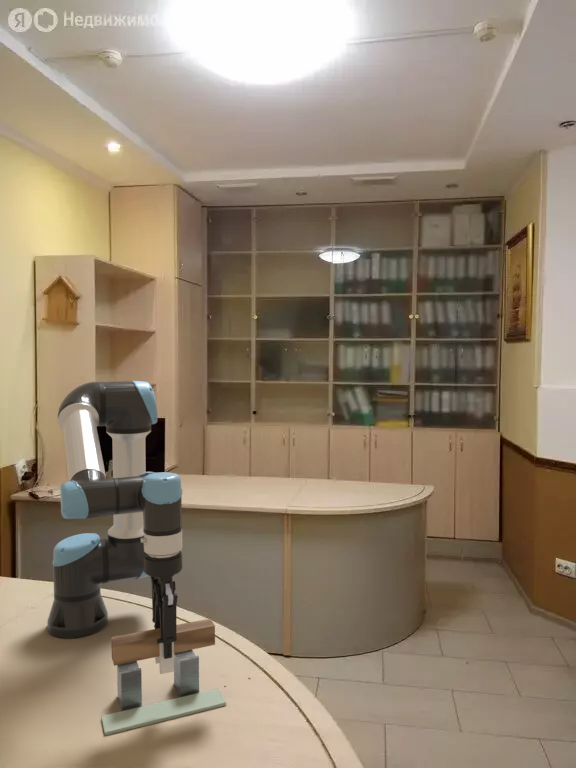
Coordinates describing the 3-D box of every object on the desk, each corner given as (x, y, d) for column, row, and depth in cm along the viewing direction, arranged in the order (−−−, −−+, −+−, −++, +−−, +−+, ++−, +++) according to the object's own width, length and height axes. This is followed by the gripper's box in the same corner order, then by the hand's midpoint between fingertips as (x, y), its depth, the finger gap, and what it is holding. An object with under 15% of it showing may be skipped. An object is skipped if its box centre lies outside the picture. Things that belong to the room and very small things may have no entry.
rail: (111, 657, 117) (111, 637, 117) (210, 637, 125) (210, 618, 125) (114, 665, 114) (113, 645, 114) (215, 644, 122) (214, 625, 122)
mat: (101, 719, 118) (101, 716, 118) (218, 691, 128) (218, 688, 128) (104, 735, 113) (104, 732, 113) (226, 705, 123) (226, 702, 123)
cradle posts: (117, 695, 126) (116, 659, 126) (191, 678, 132) (191, 643, 132) (121, 712, 120) (121, 673, 120) (199, 693, 127) (198, 657, 126)
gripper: (136, 542, 125) (138, 651, 126) (152, 568, 109) (153, 692, 111) (172, 537, 128) (173, 644, 129) (192, 562, 112) (193, 683, 114)
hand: (164, 666), depth 120 cm, fingers closed on rail, 3 cm apart
